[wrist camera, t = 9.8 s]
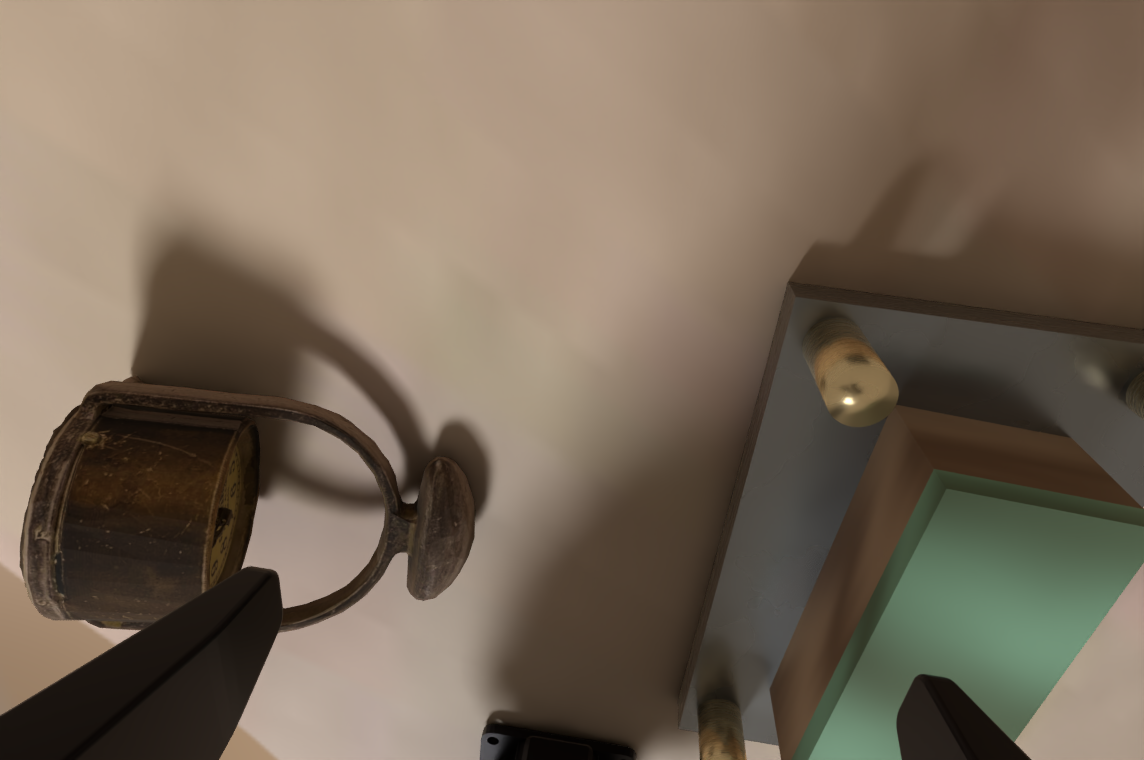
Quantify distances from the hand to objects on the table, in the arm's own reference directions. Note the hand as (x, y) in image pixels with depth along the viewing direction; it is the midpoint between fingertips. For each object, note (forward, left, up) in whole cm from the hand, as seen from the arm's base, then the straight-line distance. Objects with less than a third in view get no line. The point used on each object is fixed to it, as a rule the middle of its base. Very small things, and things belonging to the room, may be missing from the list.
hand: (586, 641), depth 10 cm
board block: (-7, -10, -11) cm, 16 cm away
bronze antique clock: (-8, +11, -12) cm, 18 cm away
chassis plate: (-7, -10, -12) cm, 17 cm away
